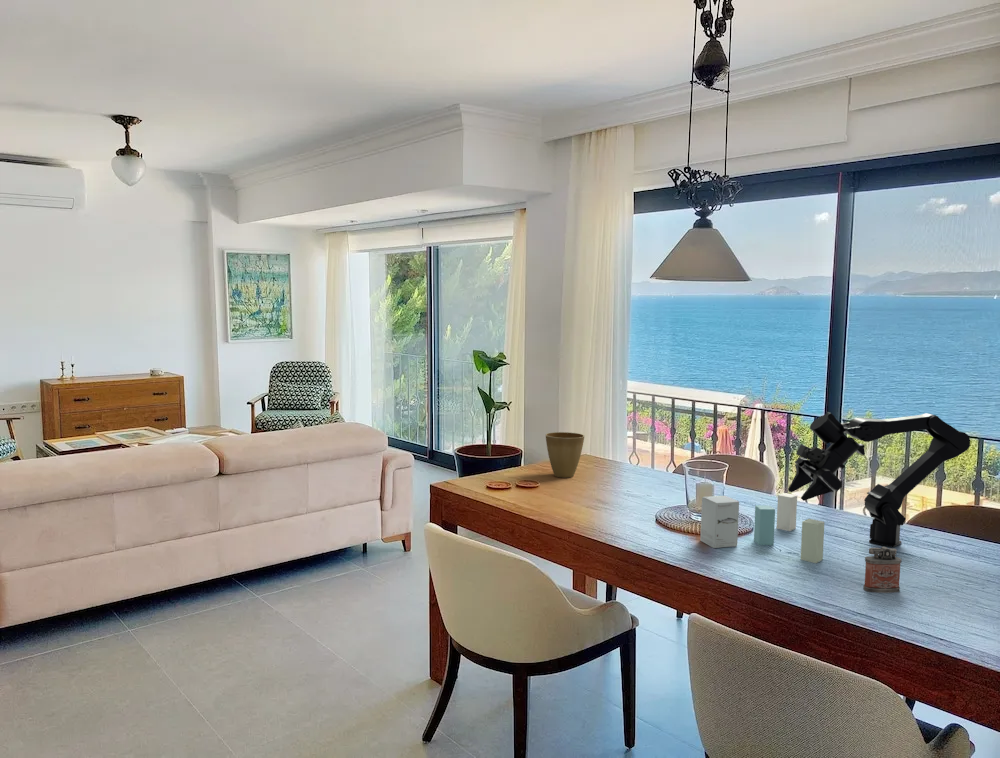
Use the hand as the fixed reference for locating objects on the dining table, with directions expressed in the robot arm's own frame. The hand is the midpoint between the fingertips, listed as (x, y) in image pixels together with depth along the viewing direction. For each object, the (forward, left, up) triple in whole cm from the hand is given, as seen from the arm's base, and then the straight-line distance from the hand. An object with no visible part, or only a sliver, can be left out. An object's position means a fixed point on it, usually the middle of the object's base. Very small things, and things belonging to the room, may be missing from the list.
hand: (795, 495), depth 203 cm
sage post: (-10, +11, -13) cm, 20 cm away
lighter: (-30, +20, -13) cm, 38 cm away
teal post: (+5, +7, -13) cm, 16 cm away
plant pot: (+97, -15, -13) cm, 99 cm away
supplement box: (+13, +17, -13) cm, 25 cm away
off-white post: (+7, -11, -13) cm, 19 cm away
